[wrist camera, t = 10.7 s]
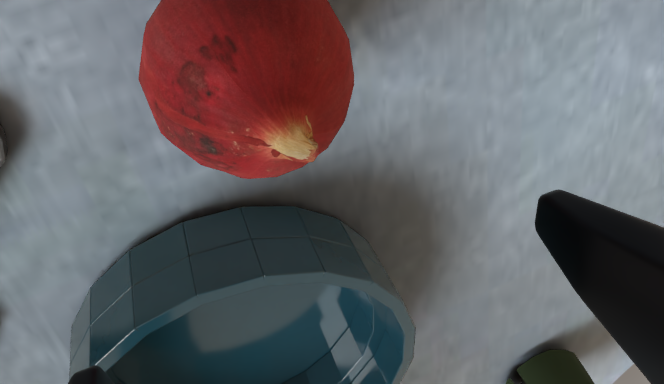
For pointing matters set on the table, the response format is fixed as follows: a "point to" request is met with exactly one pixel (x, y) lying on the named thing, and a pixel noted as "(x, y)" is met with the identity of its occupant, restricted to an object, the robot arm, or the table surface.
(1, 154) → the throwing knife
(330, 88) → the onion
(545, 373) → the character mug
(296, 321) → the bowl
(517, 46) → the table surface
